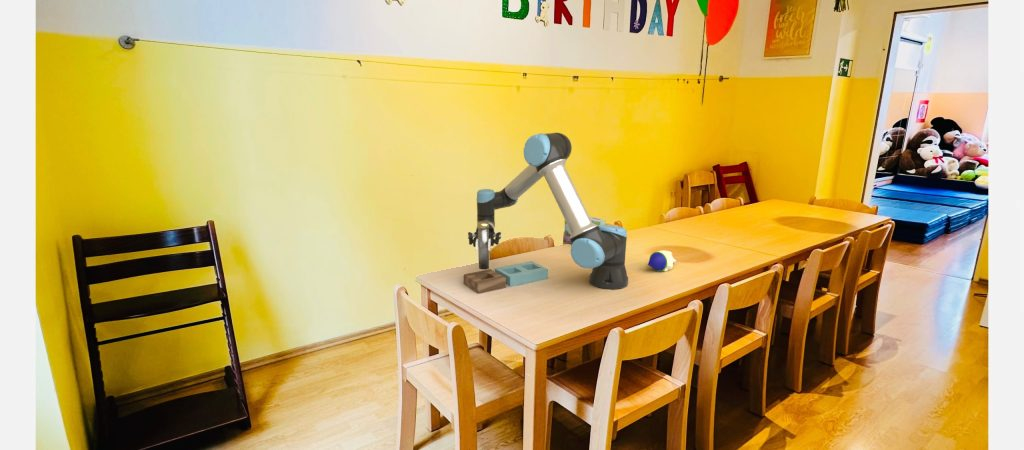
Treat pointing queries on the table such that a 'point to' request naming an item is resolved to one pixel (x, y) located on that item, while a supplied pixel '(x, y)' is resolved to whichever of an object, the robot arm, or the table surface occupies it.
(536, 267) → the block
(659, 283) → the table surface
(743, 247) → the table surface
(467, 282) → the socket block
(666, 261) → the cartoon head
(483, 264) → the grey metal cylinder
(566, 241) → the snack box
